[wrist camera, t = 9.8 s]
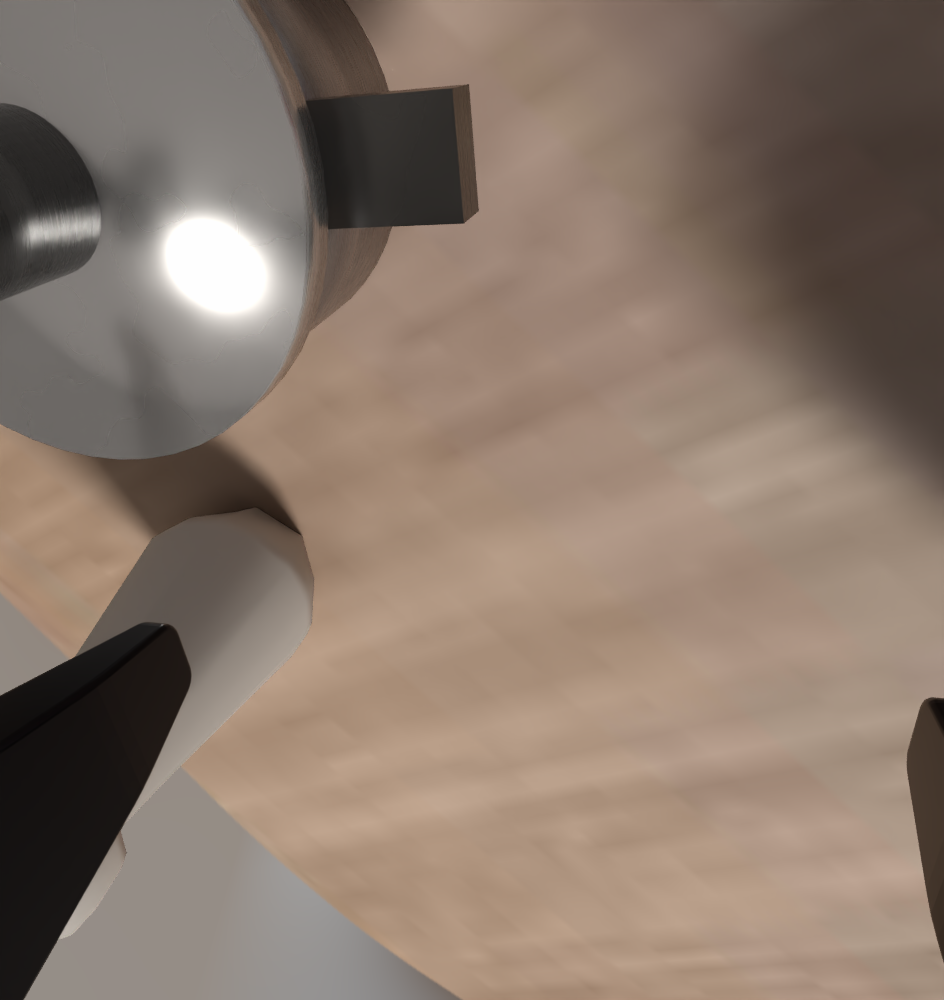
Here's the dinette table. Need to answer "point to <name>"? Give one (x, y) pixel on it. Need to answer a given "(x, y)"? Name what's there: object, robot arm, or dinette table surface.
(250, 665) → the salt shaker
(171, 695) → the robot arm
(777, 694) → the dinette table surface
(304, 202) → the cooker lid
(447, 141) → the cooker pot
